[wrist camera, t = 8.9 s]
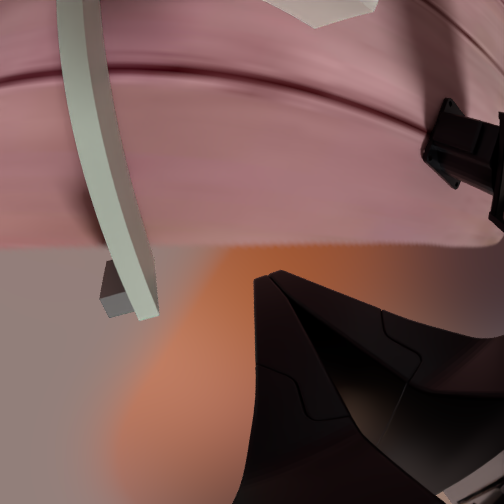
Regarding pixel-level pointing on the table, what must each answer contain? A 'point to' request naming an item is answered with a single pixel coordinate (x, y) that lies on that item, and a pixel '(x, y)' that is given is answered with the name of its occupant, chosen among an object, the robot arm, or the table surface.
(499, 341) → the robot arm
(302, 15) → the camera case
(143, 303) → the side door
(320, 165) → the table surface
